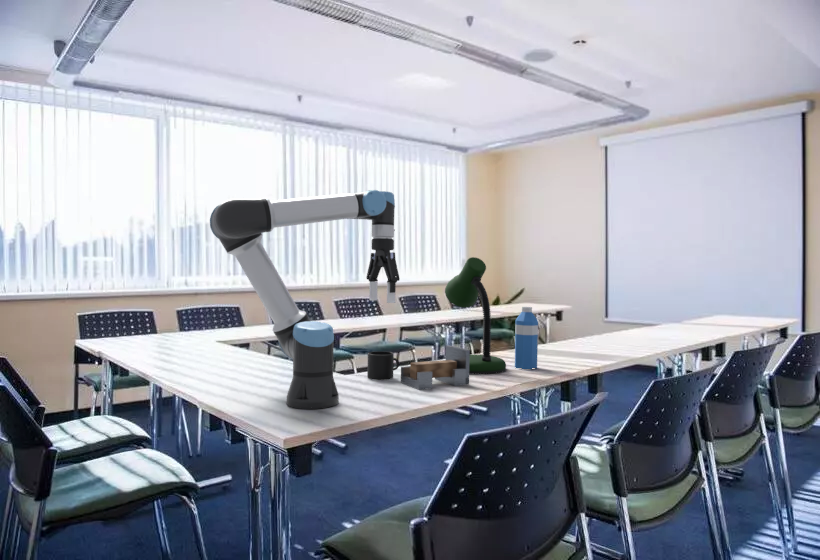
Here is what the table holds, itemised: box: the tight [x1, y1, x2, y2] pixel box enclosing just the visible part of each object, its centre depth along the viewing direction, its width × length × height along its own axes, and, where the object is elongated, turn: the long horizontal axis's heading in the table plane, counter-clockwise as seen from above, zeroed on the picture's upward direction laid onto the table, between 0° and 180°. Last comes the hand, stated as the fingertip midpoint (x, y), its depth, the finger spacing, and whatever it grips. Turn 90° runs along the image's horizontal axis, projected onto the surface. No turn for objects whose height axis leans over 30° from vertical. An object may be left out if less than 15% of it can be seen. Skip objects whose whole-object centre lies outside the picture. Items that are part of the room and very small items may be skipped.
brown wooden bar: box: [409, 359, 457, 379], centre depth 194 cm, size 16×4×5 cm, turn 117°
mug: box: [366, 350, 400, 381], centre depth 204 cm, size 9×12×9 cm
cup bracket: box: [434, 344, 471, 387], centre depth 198 cm, size 6×13×12 cm, turn 29°
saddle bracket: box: [400, 365, 433, 391], centre depth 191 cm, size 5×13×6 cm, turn 29°
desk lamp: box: [444, 256, 507, 375], centre depth 227 cm, size 31×23×45 cm
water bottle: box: [514, 306, 539, 370], centre depth 228 cm, size 9×9×25 cm
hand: (381, 301), depth 187 cm, fingers open, 13 cm apart
